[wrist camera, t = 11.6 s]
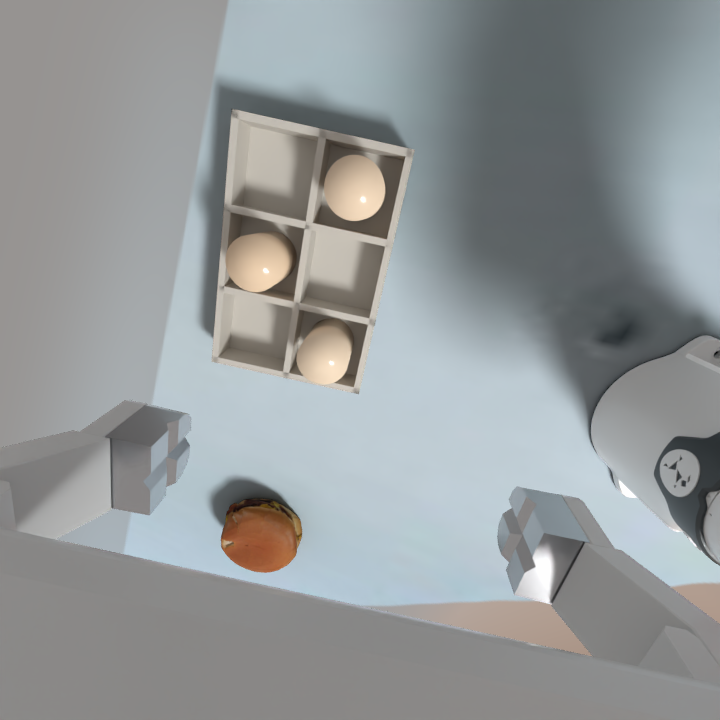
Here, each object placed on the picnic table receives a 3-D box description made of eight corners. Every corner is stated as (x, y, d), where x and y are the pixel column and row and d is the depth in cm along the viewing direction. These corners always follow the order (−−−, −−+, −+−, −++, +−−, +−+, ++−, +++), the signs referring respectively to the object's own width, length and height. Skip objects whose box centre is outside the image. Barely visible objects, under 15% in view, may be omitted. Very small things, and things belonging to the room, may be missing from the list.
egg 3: (390, 170, 35) (390, 161, 29) (379, 224, 37) (377, 226, 31) (339, 159, 35) (329, 148, 29) (330, 213, 37) (319, 214, 31)
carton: (412, 155, 35) (414, 149, 32) (361, 379, 43) (358, 394, 39) (246, 118, 35) (231, 108, 32) (225, 349, 43) (211, 361, 39)
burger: (311, 548, 52) (304, 579, 47) (244, 555, 53) (230, 586, 49) (291, 485, 49) (281, 511, 44) (220, 494, 50) (203, 521, 46)
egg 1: (300, 236, 38) (284, 241, 32) (293, 284, 39) (277, 297, 34) (252, 226, 38) (227, 229, 32) (247, 274, 39) (223, 285, 34)
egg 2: (358, 323, 40) (352, 341, 34) (349, 365, 42) (342, 389, 36) (313, 313, 40) (300, 330, 34) (306, 355, 42) (293, 378, 36)
